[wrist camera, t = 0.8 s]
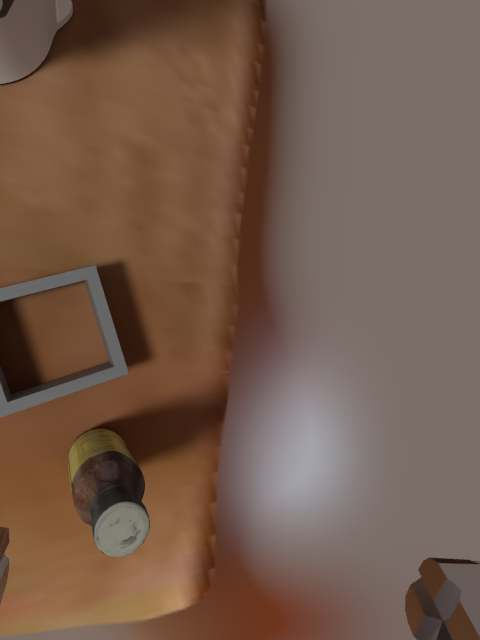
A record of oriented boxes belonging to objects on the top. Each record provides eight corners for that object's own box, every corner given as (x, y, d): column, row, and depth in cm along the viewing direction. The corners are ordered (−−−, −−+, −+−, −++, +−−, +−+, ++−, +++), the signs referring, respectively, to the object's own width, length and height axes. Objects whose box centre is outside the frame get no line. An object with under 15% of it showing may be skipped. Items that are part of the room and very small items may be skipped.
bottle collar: (-38, 299, 44) (-46, 299, 40) (92, 267, 49) (95, 265, 45) (2, 408, 46) (-3, 418, 42) (123, 368, 51) (128, 373, 47)
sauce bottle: (120, 478, 51) (159, 578, 33) (63, 479, 49) (70, 587, 30) (128, 422, 51) (171, 490, 33) (71, 420, 49) (83, 493, 30)
